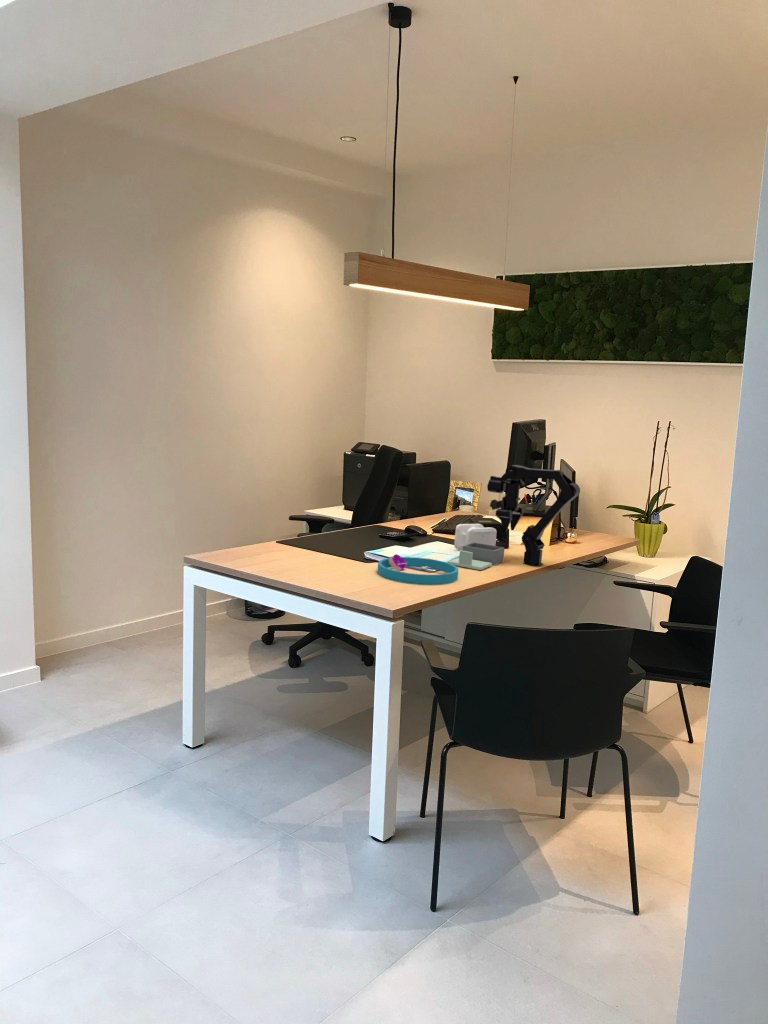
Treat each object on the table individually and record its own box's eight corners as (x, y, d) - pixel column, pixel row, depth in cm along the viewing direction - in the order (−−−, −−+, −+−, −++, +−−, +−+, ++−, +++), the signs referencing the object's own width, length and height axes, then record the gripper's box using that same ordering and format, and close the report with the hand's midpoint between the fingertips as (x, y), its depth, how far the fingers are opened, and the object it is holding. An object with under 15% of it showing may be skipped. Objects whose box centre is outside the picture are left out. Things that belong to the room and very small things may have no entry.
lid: (491, 567, 332) (493, 550, 331) (480, 571, 322) (482, 554, 321) (459, 561, 339) (460, 545, 338) (447, 565, 329) (448, 549, 328)
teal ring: (406, 563, 328) (407, 548, 327) (472, 577, 312) (473, 562, 311) (361, 574, 304) (362, 558, 303) (430, 590, 287) (431, 573, 286)
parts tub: (503, 561, 343) (504, 547, 342) (493, 565, 334) (494, 551, 333) (472, 556, 350) (473, 542, 349) (461, 560, 340) (463, 545, 339)
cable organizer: (481, 549, 368) (483, 523, 366) (495, 554, 359) (498, 527, 357) (453, 550, 360) (455, 524, 359) (467, 555, 351) (469, 528, 350)
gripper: (501, 490, 356) (498, 526, 359) (485, 494, 340) (482, 531, 342) (526, 494, 351) (522, 530, 353) (511, 497, 335) (507, 535, 337)
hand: (508, 531), depth 347 cm, fingers open, 9 cm apart
